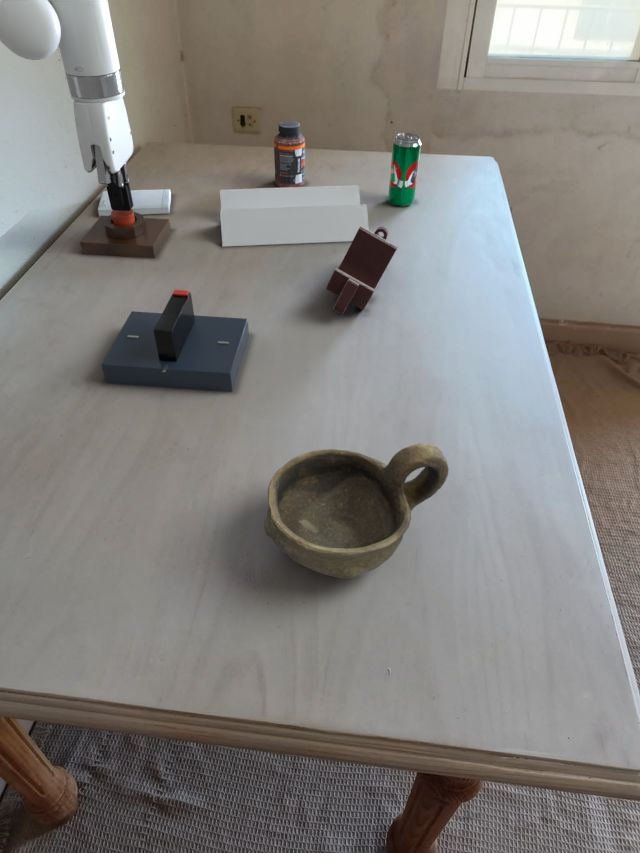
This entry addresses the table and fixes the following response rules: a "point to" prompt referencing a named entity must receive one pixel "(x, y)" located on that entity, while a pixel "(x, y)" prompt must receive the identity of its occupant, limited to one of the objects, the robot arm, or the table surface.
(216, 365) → the lever switch
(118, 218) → the button
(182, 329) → the black rectangular block
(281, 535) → the bowl
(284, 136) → the supplement bottle
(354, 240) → the bracket
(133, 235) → the button base
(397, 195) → the soda can
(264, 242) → the z bracket
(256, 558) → the table surface
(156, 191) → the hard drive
